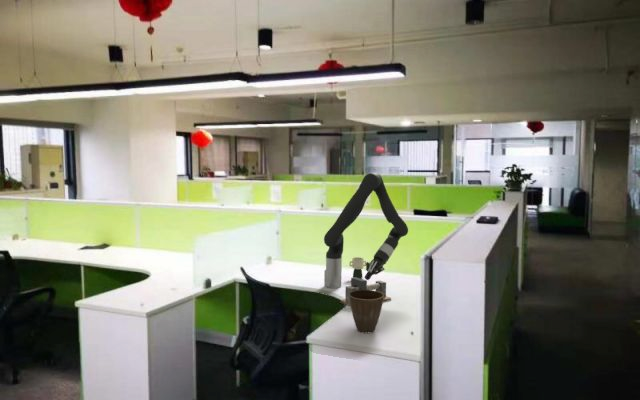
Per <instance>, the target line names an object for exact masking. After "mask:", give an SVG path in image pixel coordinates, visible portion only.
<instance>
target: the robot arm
mask: <svg viewBox="0 0 640 400" xmlns="http://www.w3.org/2000/svg"><path fill="white" fill-rule="evenodd" d="M373 192H374V193H375V194H376V197H377V198H378V202H379V205H380V208H381V212H382V213H383V215H384V217H385V219H386V221H387V223H389V224H392V226H393V227H392V229H391V230H390V231H389V233H388V235H387V238H386V239H385V240H384V242H382V244H381V245H380V246H379V248H378V249H377V251H376V252H375V253H374V255H373V259H372V260H370V261H369V262H368V261H366V266H365V271H367V272H366V274H365V276H364V280H366V281H369V280H370V279H371V277H372V276H373V275H375V276H376V275H378V274H380V273H382V272H383V271H385V267H384V265H386V264H387V262H388V261H389V259H390V258H391V256H392V255H393V253H394V252H395V250H396V248H398V246H399V240H401V238H402V237H405V236H406V235H408V234H409V227H408V226H407V225H408V224H407V223H406V222H405V221H404V220H403V219H402V217H401V216H400V215H399V213H398V211H397V209H396V207H395V206H394V204H393V202H392V200H391V197H390V196H389V193H388V192H387V189H386V185H385V183H384V179H383V177H382V175H381V174H380V173H379V172H374V171H372V172H369V173H367V174H365V175H364V176H363V178H362V180H361V183H360V184H359V187H358V188H357V189H356V191H355V192H354V194H353V195H352V196H351V198H350V199H349V201H348V202H347V203H346V205H345V206H344V207H343V209H342V211H341V213H340V214H339V216H338V217H337V219H336V221H335V222H334V223H333V224H332V226H331V227H330V228H329V229H328V231H327V232H326V233H325V234H324V237H323V242H324V244H325V246H327V247H328V250H327V251H326V254H325V270H324V282H323V283H324V287H326V288H329V289H330V288H331V289H338V288H341V287H342V262H343V252H344V240H345V239H344V234H343V233H344V231H346V229H348V228H349V226H351V225H352V224H353V223H354V222H355V221H356V220H357V219H358V217H359V216H360V215H361V213H362V211H363V209H364V207H365V204H366V201H367V199H369V198H368V197H369V196H370V195H371V194H372V193H373Z"/></svg>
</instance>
